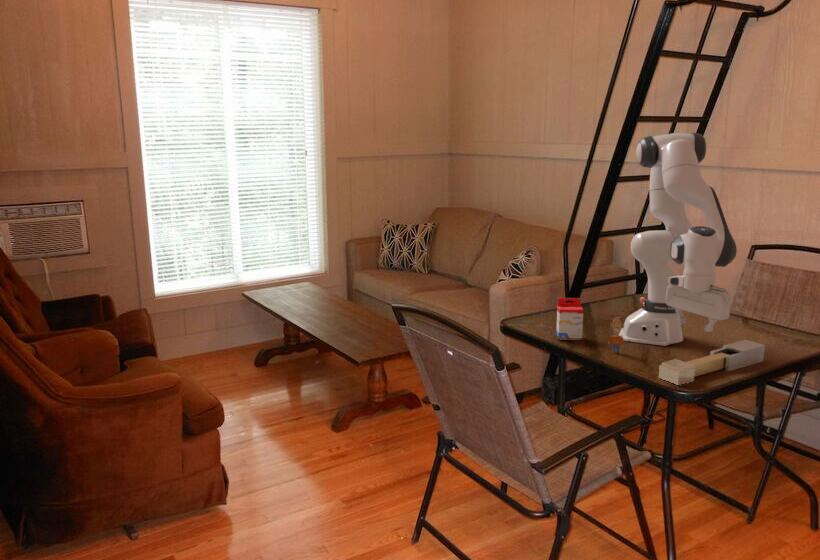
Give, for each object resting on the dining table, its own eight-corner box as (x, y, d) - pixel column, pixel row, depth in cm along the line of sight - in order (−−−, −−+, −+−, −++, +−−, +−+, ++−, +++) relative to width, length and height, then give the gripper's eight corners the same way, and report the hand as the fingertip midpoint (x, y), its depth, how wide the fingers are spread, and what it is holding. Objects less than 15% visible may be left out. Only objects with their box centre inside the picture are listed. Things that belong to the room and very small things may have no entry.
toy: (606, 352, 226) (608, 316, 223) (609, 350, 228) (610, 314, 225) (622, 355, 223) (624, 318, 220) (624, 352, 225) (626, 316, 223)
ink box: (558, 341, 239) (559, 301, 236) (555, 336, 244) (557, 297, 240) (582, 340, 239) (584, 301, 235) (579, 336, 243) (581, 297, 240)
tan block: (719, 363, 212) (720, 352, 212) (730, 366, 209) (731, 355, 208) (672, 376, 202) (673, 364, 201) (682, 380, 199) (683, 368, 198)
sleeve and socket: (743, 355, 221) (745, 339, 219) (763, 361, 215) (765, 345, 213) (658, 378, 202) (659, 361, 200) (677, 386, 196) (679, 368, 194)
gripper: (737, 288, 190) (732, 334, 193) (677, 274, 208) (674, 317, 211) (722, 291, 187) (718, 338, 190) (663, 277, 205) (660, 320, 208)
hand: (694, 327), depth 201 cm, fingers open, 8 cm apart
